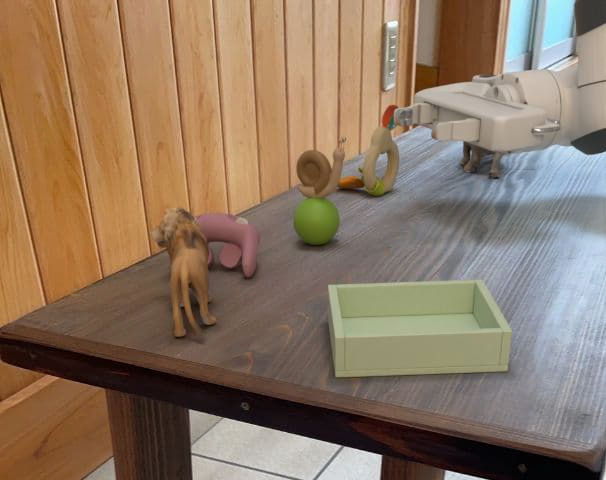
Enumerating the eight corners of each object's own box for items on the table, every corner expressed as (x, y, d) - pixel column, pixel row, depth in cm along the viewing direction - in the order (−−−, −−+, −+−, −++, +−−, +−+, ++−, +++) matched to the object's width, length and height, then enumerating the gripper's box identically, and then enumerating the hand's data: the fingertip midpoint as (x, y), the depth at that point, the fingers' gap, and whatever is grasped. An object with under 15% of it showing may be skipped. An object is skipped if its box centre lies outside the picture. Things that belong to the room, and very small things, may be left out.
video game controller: (261, 282, 96) (264, 217, 95) (252, 276, 91) (255, 208, 90) (177, 279, 97) (179, 215, 96) (164, 273, 93) (166, 206, 92)
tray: (479, 315, 82) (482, 279, 80) (507, 371, 72) (512, 331, 70) (328, 321, 82) (327, 284, 80) (335, 377, 72) (335, 337, 70)
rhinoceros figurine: (449, 162, 122) (469, 58, 122) (448, 200, 136) (467, 106, 136) (503, 169, 121) (524, 64, 121) (497, 206, 135) (516, 112, 134)
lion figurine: (156, 293, 89) (145, 204, 84) (206, 288, 90) (198, 199, 85) (176, 347, 78) (164, 248, 73) (233, 339, 79) (226, 241, 74)
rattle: (373, 181, 125) (375, 94, 119) (408, 192, 120) (412, 102, 113) (331, 189, 122) (331, 100, 115) (365, 201, 117) (367, 108, 110)
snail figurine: (333, 254, 98) (333, 142, 91) (285, 247, 101) (281, 137, 94) (354, 241, 102) (355, 132, 95) (308, 235, 105) (305, 128, 98)
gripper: (565, 158, 96) (457, 172, 92) (472, 127, 111) (376, 138, 107) (574, 96, 92) (462, 108, 88) (476, 72, 108) (377, 82, 104)
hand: (414, 124), depth 98 cm, fingers open, 8 cm apart
